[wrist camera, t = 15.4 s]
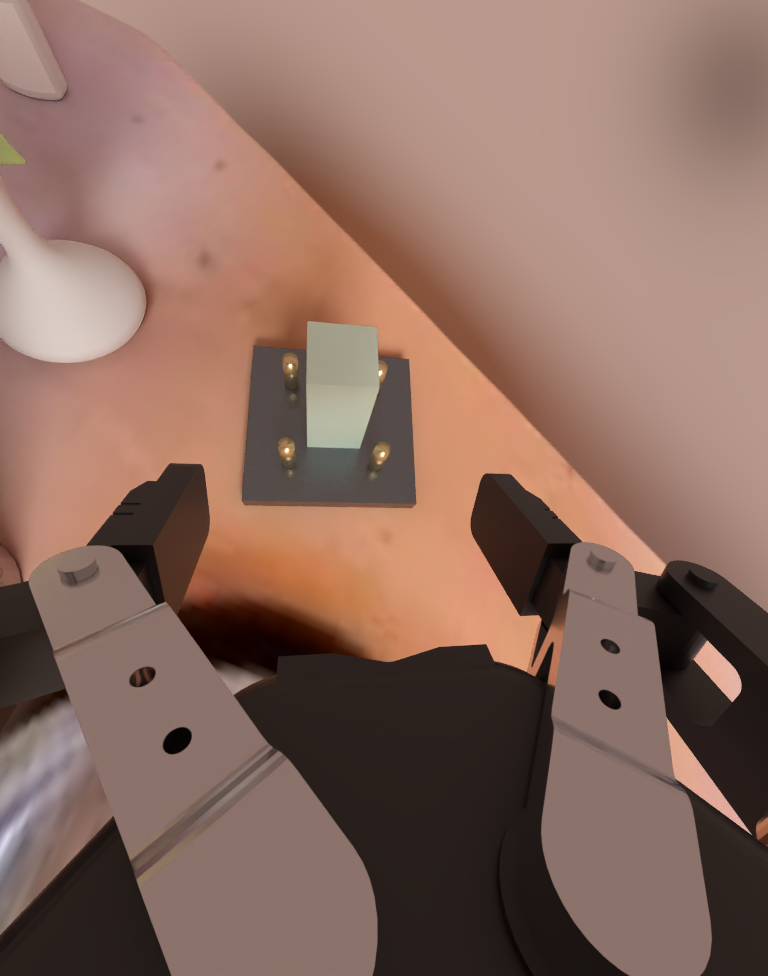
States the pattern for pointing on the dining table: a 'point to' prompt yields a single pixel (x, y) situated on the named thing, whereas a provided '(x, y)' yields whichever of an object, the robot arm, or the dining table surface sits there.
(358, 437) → the block
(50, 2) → the dining table surface
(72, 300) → the flower in vase
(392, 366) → the grey gold peg board
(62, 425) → the dining table surface
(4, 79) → the eye dropper bottle
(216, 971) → the robot arm
